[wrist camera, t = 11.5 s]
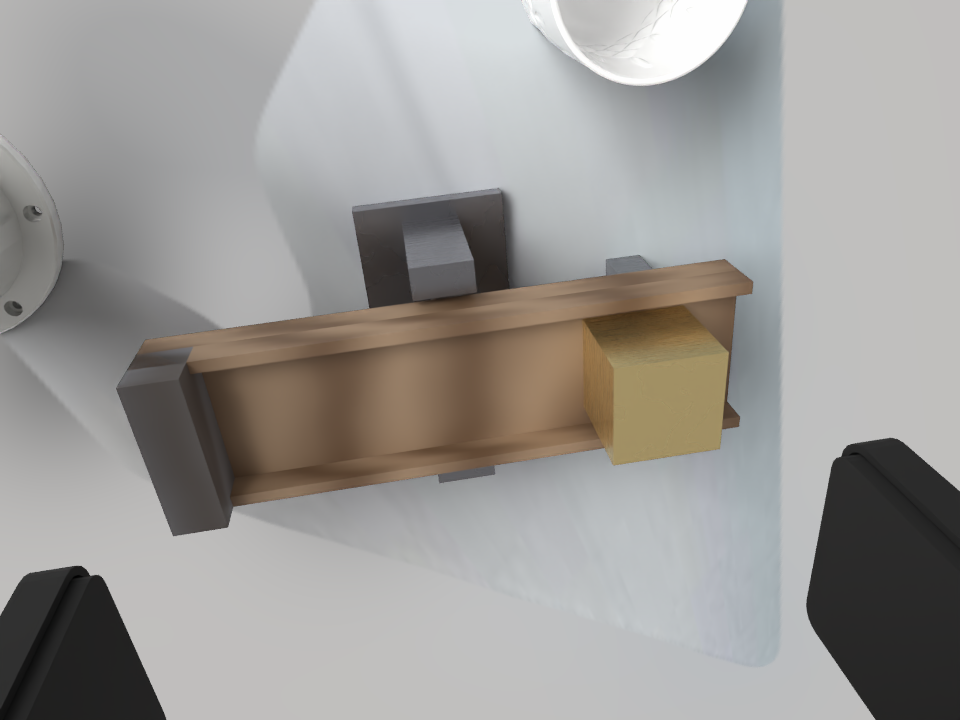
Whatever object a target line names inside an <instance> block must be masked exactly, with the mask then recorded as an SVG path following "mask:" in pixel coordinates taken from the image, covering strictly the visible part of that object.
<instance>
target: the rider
mask: <svg viewBox="0 0 960 720" xmlns="http://www.w3.org/2000/svg"><path fill="white" fill-rule="evenodd" d="M582 323H583V381H584V408H585V410H586V412H587V414H588V416H589V418H590V420H591V422H592V424H593V426H594V428H595V430H596V432H597V434H598V436H599V438H600V440H601V442H602V444H603V446H604V448H605V450H606V452H607V454H608V456H609V458H610V460H611V462H612V464H613V465H619V464H626V463H632V462H639V461H645V460H652V459H658V458H665V457H671V456H677V455H684V454H690V453H697V452H703V451H710V450H716V449H720V443H721V432H722V421H723V411H724V400H725V389H726V378H727V367H728V356H729V352H728V351H727V350H726V349H725V348H724V347H723V346H722V345H721V344H720V343H719V342H718V341H717V339H716V338H715V337H714V336H713V335H712V334H711V333H710V332H709V331H708V330H707V329H706V328H705V327H704V326H703V325H702V324H701V323H700V322H699V321H698V320H697V319H696V318H695V317H694V316H693V315H692V314H691V312H690V311H689V310H688V309H687V308H686V307H685V306H684V305H681V306H674V307H666V308H659V309H652V310H645V311H637V312H630V313H623V314H615V315H608V316H601V317H594V318H586V319H582Z"/></svg>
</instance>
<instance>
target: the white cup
mask: <svg viewBox="0 0 960 720" xmlns="http://www.w3.org/2000/svg"><path fill="white" fill-rule="evenodd" d="M521 1H522V3H523V6H524V8H525V10H526V13H527V15H528V18H529V20H530V22H531V23H532V24H533V25H534V26H535V27H536V28H537V29H539V30H540V31H541V32H542V33H543V34H544V36H545V37H546V38H547V39H548V40H549V41H550V42H551V43H552V44H554V45H555V46H556V47H558V48H559V49H560V50H562V51H563V52H564V53H565V54H567V55H568V56H570V57H571V58H573V59H574V60H576V61H578V62H579V63H581V64H582V65H584V66H586V67H587V68H589V69H590V70H592V71H593V72H595V73H596V74H598V75H600V76H602V77H604V78H606V79H608V80H611V81H614V82H617V83H620V84H625V85H632V86H650V85H657V84H662V83H665V82H669V81H672V80H675V79H677V78H679V77H682V76H684V75H686V74H688V73H689V72H691V71H693V70H694V69H696V68H697V67H699V66H700V65H702V64H703V63H704V62H705V61H707V60H708V59H709V58H710V57H711V56H712V55H713V54H714V53H715V52H716V51H717V50H718V49H719V48H720V47H721V46H722V45H723V43H724V42H725V41H726V40H727V38H728V37H729V36H730V34H731V33H732V31H733V30H734V28H735V27H736V25H737V23H738V21H739V20H740V18H741V16H742V14H743V11H744V9H745V7H746V4H747V2H748V0H521Z"/></svg>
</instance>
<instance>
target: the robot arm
mask: <svg viewBox="0 0 960 720" xmlns="http://www.w3.org/2000/svg"><path fill="white" fill-rule="evenodd" d="M35 206H36V207H37V208H39V209H40V211H41V212H42V213H39V212H37V211H36V210H35ZM63 249H64V244H63V235H62V227H61V222H60V219H59V216H58V213H57V209H56V206H55V203H54V200H53V199H52V197H51V195H50V193H49V191H48V189H47V188H46V186H45V184H44V182H43V180H42V179H41V177H40V176H39V174H38V173H37V172H36V171H35V169H34V168H33V167H32V166H31V164H30V163H29V161H28V160H27V159H26V158H25V156H24V155H23V154H22V153H21V152H20V151H18V150H17V149H16V148H15V147H14V146H13V145H12V144H11V143H10V142H9V141H8V140H7V139H6V138H5V137H4V136H2V135H1V134H0V333H3V332H5V331H7V330H9V329H12V328H14V327H16V326H17V325H18V324H20V323H21V322H22V321H24V320H25V319H27V318H28V317H29V316H31V315H32V314H33V313H34V312H35V311H36V310H37V309H38V308H39V307H40V306H41V305H42V304H43V303H44V301H45V300H46V298H47V297H48V295H49V294H50V292H51V291H52V289H53V288H54V286H55V284H56V281H57V278H58V276H59V273H60V270H61V267H62V259H63ZM17 303H19V304H20V305H19V304H17ZM806 607H807V613H808V617H809V620H810V623H811V625H812V627H813V629H814V630H815V632H816V634H817V635H818V637H819V638H820V640H821V641H822V642H823V644H824V645H825V647H826V648H827V650H828V651H829V653H830V654H831V656H832V657H833V658H834V660H835V661H836V663H837V664H838V666H839V667H840V669H841V670H842V672H843V673H844V674H845V676H846V677H847V679H848V680H849V682H850V683H851V685H852V686H853V687H854V689H855V690H856V692H857V693H858V695H859V696H860V698H861V699H862V701H863V702H864V704H865V705H866V706H867V708H868V709H869V711H870V712H871V714H872V715H873V717H874V718H875V719H876V720H960V491H959V490H957V489H956V488H955V487H954V486H953V485H952V484H950V483H949V482H948V481H947V480H946V479H945V478H944V477H942V476H941V475H940V474H939V473H938V472H937V471H935V470H934V469H933V468H932V467H931V466H930V465H928V464H927V463H926V462H925V461H924V460H923V459H922V458H921V457H919V456H918V455H917V454H916V453H915V452H914V451H912V450H911V449H910V448H909V447H908V446H906V445H905V444H904V443H903V442H901V441H900V440H898V439H894V438H887V439H880V440H874V441H868V442H861V443H855V444H851V445H848V446H847V447H846V448H845V449H844V450H843V453H842V456H841V457H839V458H836V459H835V460H834V462H833V464H832V467H831V473H830V478H829V483H828V489H827V494H826V499H825V505H824V511H823V516H822V521H821V526H820V532H819V537H818V542H817V548H816V553H815V559H814V564H813V569H812V574H811V580H810V586H809V591H808V596H807V603H806ZM0 720H166V717H165V714H164V712H163V710H162V707H161V705H160V703H159V701H158V699H157V696H156V694H155V692H154V689H153V687H152V685H151V683H150V681H149V678H148V677H147V674H146V672H145V669H144V667H143V665H142V663H141V661H140V659H139V656H138V654H137V652H136V650H135V647H134V645H133V643H132V641H131V639H130V636H129V634H128V632H127V629H126V627H125V625H124V623H123V621H122V618H121V616H120V614H119V612H118V609H117V607H116V605H115V603H114V601H113V598H112V596H111V594H110V592H109V590H108V587H107V585H106V583H105V581H104V580H103V578H102V577H101V576H99V575H94V576H90V575H89V573H88V571H87V570H86V569H85V568H83V567H82V566H72V567H65V568H59V569H53V570H46V571H40V572H34V573H29V574H27V575H26V576H24V577H23V579H22V580H21V581H20V582H19V584H18V586H17V587H16V589H15V591H14V593H13V594H12V596H11V598H10V600H9V601H8V603H7V605H6V607H5V608H4V610H3V612H2V614H1V616H0Z"/></svg>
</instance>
